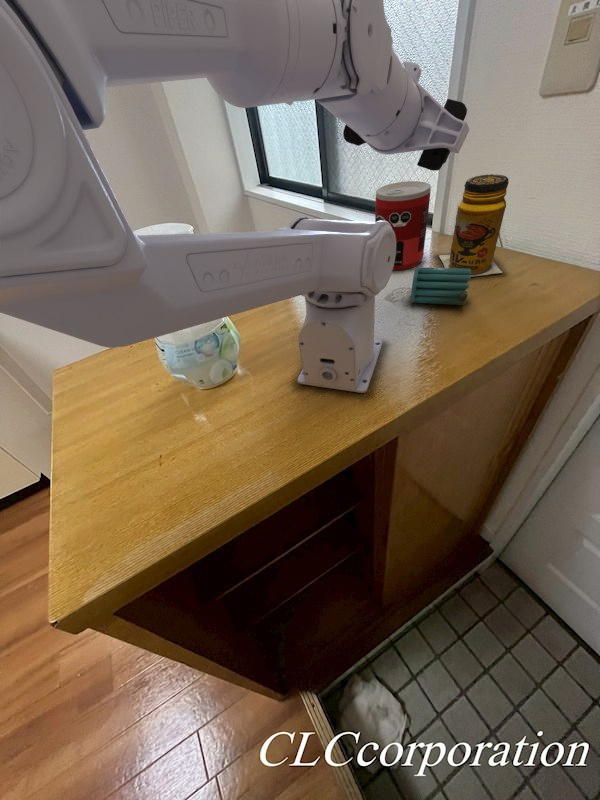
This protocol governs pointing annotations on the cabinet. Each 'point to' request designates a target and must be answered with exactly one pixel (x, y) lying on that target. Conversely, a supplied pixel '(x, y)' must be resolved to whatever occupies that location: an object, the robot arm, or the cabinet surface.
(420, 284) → the pencil holder
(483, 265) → the condiment
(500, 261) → the cabinet surface
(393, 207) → the canned food
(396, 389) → the cabinet surface
